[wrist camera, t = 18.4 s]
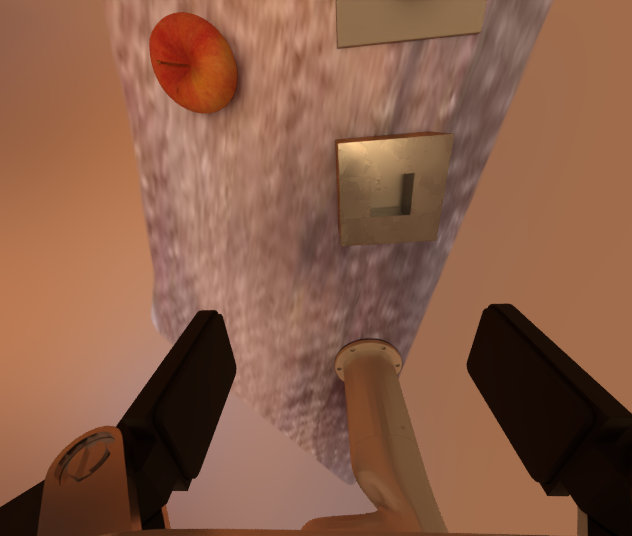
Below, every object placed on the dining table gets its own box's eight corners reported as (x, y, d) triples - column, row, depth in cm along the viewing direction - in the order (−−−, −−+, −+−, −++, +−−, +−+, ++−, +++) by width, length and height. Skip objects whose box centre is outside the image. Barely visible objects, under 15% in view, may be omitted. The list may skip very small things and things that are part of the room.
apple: (256, 105, 29) (235, 99, 22) (197, 121, 30) (159, 121, 23) (231, 20, 25) (197, -19, 18) (165, 41, 26) (109, 13, 19)
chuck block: (418, 221, 35) (436, 240, 30) (338, 226, 36) (341, 246, 30) (429, 131, 30) (454, 133, 24) (335, 139, 30) (338, 143, 25)
